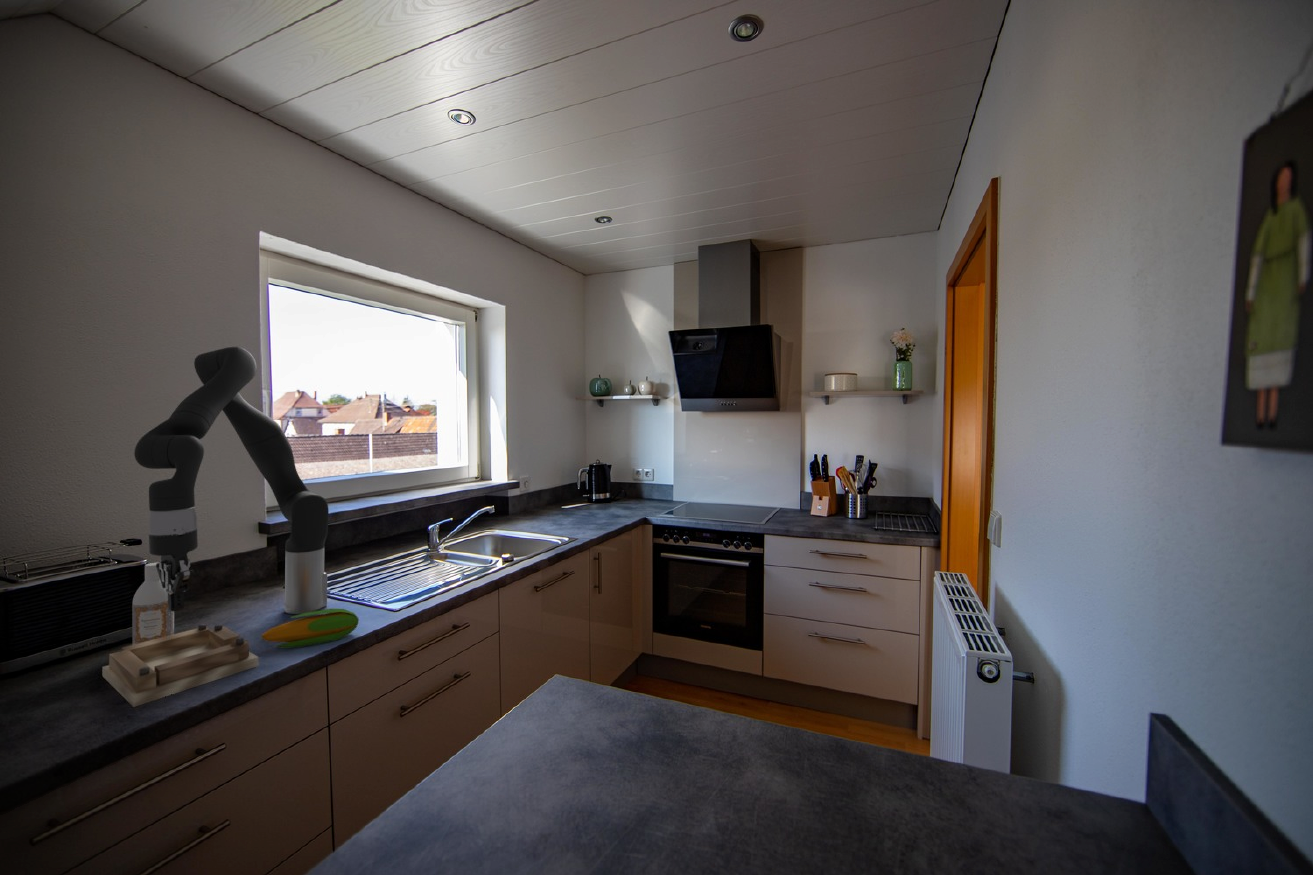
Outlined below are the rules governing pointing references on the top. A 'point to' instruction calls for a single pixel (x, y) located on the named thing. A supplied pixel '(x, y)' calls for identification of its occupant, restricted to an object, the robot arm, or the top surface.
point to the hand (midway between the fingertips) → (176, 609)
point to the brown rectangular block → (202, 662)
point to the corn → (313, 628)
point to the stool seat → (138, 661)
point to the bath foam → (151, 609)
